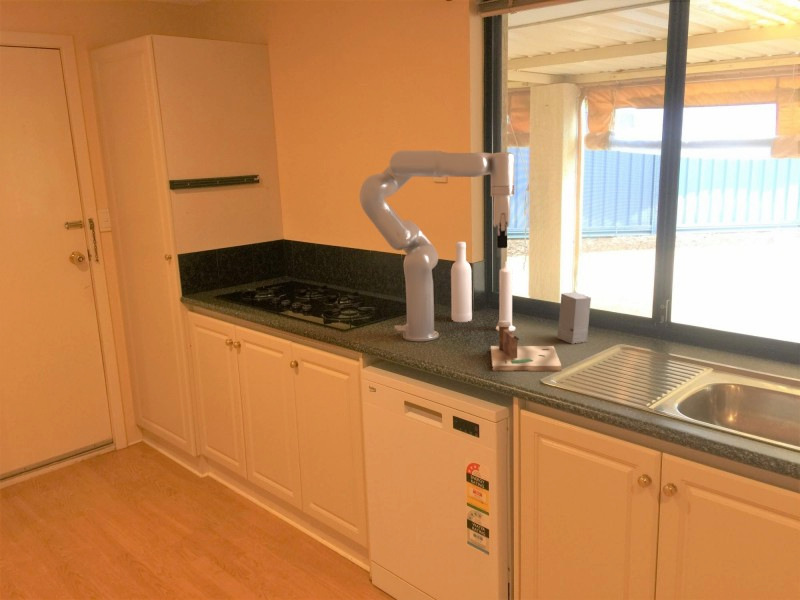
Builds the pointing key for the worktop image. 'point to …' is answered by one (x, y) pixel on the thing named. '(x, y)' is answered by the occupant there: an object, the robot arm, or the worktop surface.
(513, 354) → the peg
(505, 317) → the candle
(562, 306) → the skincare box
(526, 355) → the tuner plate
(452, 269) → the bottle
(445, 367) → the worktop surface
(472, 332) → the worktop surface
